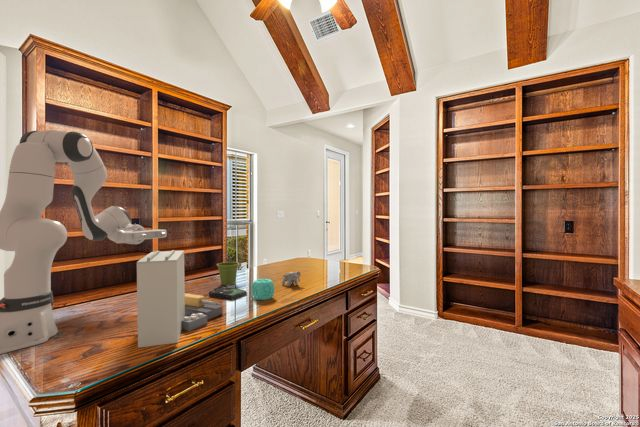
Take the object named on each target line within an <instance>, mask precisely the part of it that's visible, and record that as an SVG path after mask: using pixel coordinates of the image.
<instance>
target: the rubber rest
mask: <svg viewBox="0 0 640 427" xmlns="http://www.w3.org/2000/svg"><path fill="white" fill-rule="evenodd" d="M196 313H203V314H204V315H207V321H208V320H212V319H213V318H216V317H218V316H220V315H223V306H222V305H217V306H215V305H209V304H204V305H202V306H199V307H196V306H190V305H185V317H186V316H187V317H189V316H191V314H196Z"/></svg>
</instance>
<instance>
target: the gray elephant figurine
mask: <svg viewBox="0 0 640 427" xmlns="http://www.w3.org/2000/svg"><path fill="white" fill-rule="evenodd" d="M282 277H283V279H282V281H281V285H282V286H285V284H286V287H288V288H290V287H291V284H292V283H293V284H294V285H295V286H298V284H299V283H301V279H300V277H301V272H300V271H296V272H295V271H294V272H293V271H290V272H287V273H285V274H283V275H282ZM286 282H287V283H286Z"/></svg>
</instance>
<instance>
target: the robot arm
mask: <svg viewBox="0 0 640 427" xmlns="http://www.w3.org/2000/svg"><path fill="white" fill-rule="evenodd" d="M10 159H11V160H10V164H9V169H8V177H7V178H8V180H7V187H6V194H5V199H4V202H3V204H2V207H1V209H0V250H1V251H5V252H14V256H13V259H12V262H11V264H10V266H9V267H8V268H7V269H6V270H5V271H4V274H3V293H4V296H3V297H2V298H0V355H2V354H5V353H10V352H13V351H17V350H20V349H24V348H28V347H32V346H36V345H40V344H44V343H46V342H48V340H49V339H50V338H51V337H53V336H56V335H57V333H58V332H59V328H58V327H57V325H56V321H55V317H54V313H53V307H54V294H53V290H52V289H51V288H52V285H51V284H52V281H51V280H52V279H51V278H52V277H51V276H52V265H53V261H54V259H55V256H56V254H57V252H58V251H59V249H61V248H62V247H63V246H64V245H65V244H66V242H67V240H68V231H67V228H66V227H65V225H64V224H63V223H61V222H59V221H56V220H54V219H49V218H46V217H45V218H44V217H43V218H42V214H43V213H44V211H45V209H46V208H47V206H49V205H50V204H51V203H52V202H53V199H54V188H55V187H54V186H55V176H56V168H55V167H56V166H55V164H56V163H67V164H68V167H69V170H70V172H72V176H73V185H72V187H71V196H72V199H73V203H74V206H75V208H76V213H77V215H78V218H79V222H80V230H81V233H82V235H83V236H84V237H85V238H86V239H87V240H89V241H92V242H102V241H103V240H105V239H106V238H108V240H110V241H112V242H114V243H115V244H126V245H127V244H128V245H139V244H141V243H143V242H144V241H145V240H152V239H153V240H154V239H163V238H167V234H168V233H167V231H168V230H167V229H161V228H160V229H158V228H157V229H155V228H154V229H145V227H143V225H140V224H132V221H133V220H132V217H131V215H130V214H129V212H128V211H127V210H126V209H125V208H123V207H121V206H117V205H111V206H109V207H107V208H105V209H104V210H103V211H101V212H100V213H98V214H96V215H95V214H94V210H93V207H92V199H93V198H94V196H95V195H96V193H97V192H98V191H99V190H100V189H101V188H102V187H103V186H104V184H105V183H106V182H107V179H108V172H107V168H106V166H105V164H104V162H103V160H102V157H101V156H100V154H99V152H98V151H97V150H96V148H95V147H94V146H93V143H92V141H91V140H90V137H88V136H87V135H85V134H84V133H82V132H78V131H67V130H66V131H63V130H56V129H55V130H54V129H50V130H48V129H47V130H46V129H45V130H32V131H28V132H25V133H23V134H22V135H21V137H20V140H19V143H18V144H17V145H16V146H15V149H14V150H13V153H12V157H11V158H10Z"/></svg>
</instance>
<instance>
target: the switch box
mask: <svg viewBox="0 0 640 427" xmlns="http://www.w3.org/2000/svg"><path fill="white" fill-rule="evenodd" d="M206 324H207V325H208V320H207V315H204V314H203V313H196V314H191V316H185V317H184V318H183V319H182V330H183V331H187V332H191V331H194V330H195V329H198V328H200V327H202V326H204V325H206Z"/></svg>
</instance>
